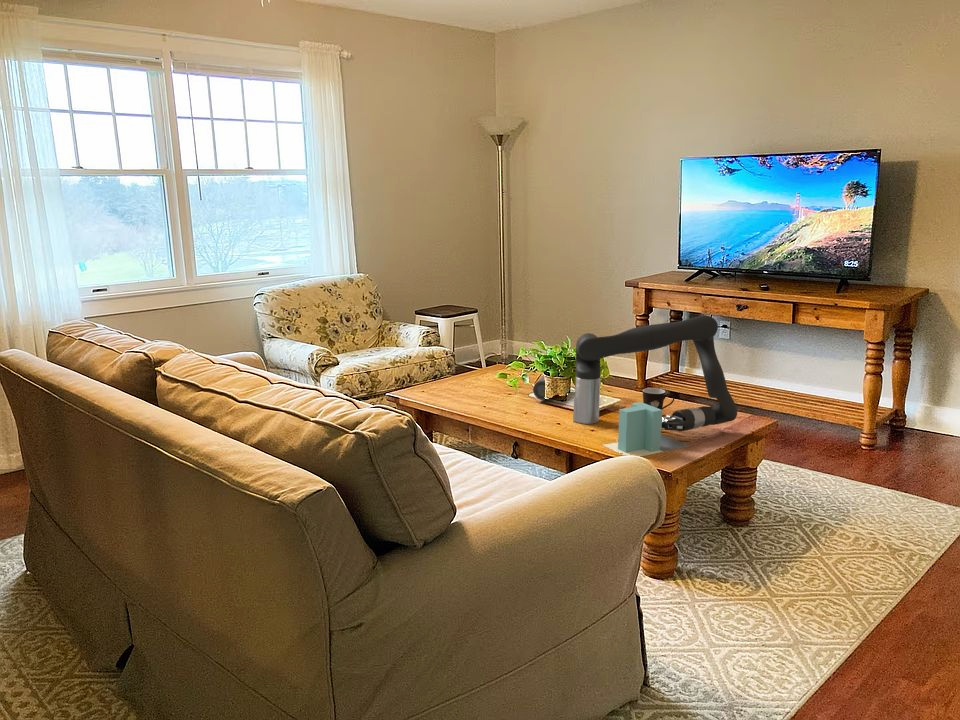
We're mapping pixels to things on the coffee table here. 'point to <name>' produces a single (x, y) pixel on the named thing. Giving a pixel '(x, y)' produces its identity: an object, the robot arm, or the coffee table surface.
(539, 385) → the bluetooth speaker
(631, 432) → the tee block
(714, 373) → the robot arm
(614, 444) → the felt mat
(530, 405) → the coffee table surface
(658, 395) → the coffee mug
